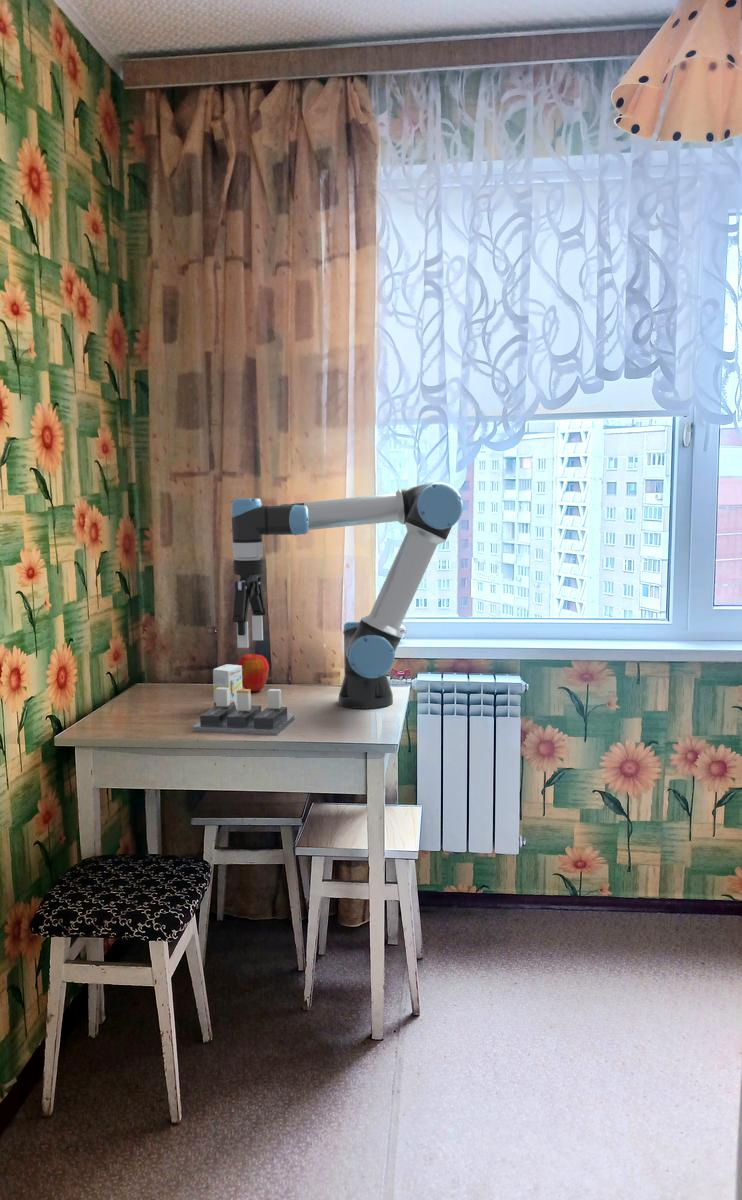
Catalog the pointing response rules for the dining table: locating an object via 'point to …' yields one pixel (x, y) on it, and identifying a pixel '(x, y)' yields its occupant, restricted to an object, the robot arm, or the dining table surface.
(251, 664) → the apple
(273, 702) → the handle
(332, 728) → the dining table surface
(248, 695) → the handle mid
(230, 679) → the ink box
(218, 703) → the handle
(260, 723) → the panel
